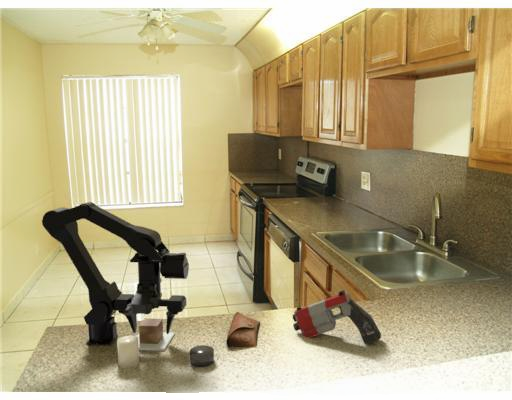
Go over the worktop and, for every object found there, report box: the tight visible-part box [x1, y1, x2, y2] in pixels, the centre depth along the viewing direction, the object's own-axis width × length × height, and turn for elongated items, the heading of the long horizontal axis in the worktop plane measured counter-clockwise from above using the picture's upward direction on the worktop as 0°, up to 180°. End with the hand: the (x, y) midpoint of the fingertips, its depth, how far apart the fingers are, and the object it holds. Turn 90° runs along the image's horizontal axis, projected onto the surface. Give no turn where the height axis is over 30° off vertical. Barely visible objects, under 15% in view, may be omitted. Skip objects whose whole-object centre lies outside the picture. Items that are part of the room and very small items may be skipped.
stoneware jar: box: [116, 335, 140, 369], centre depth 110 cm, size 5×5×6 cm
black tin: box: [189, 345, 215, 369], centre depth 111 cm, size 6×6×3 cm
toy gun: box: [292, 289, 382, 345], centre depth 124 cm, size 5×22×15 cm, turn 74°
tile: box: [135, 331, 176, 352], centre depth 122 cm, size 10×10×1 cm
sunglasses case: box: [225, 311, 261, 349], centre depth 127 cm, size 18×7×7 cm
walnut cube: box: [138, 318, 164, 344], centre depth 122 cm, size 5×5×5 cm
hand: (151, 332), depth 122 cm, fingers open, 9 cm apart
